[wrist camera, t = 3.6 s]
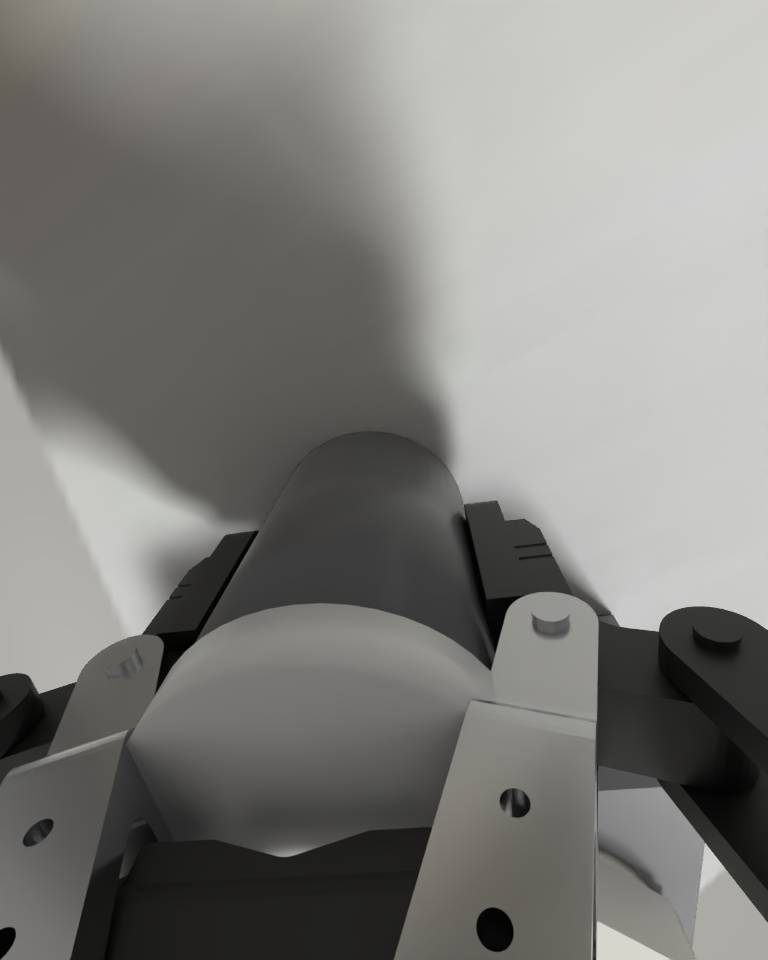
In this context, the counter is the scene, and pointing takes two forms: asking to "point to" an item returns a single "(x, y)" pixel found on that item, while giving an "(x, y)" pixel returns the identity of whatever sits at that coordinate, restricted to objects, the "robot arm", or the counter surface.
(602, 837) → the block with octagonal ring
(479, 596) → the dark capped cylinder
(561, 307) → the counter surface
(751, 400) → the counter surface
